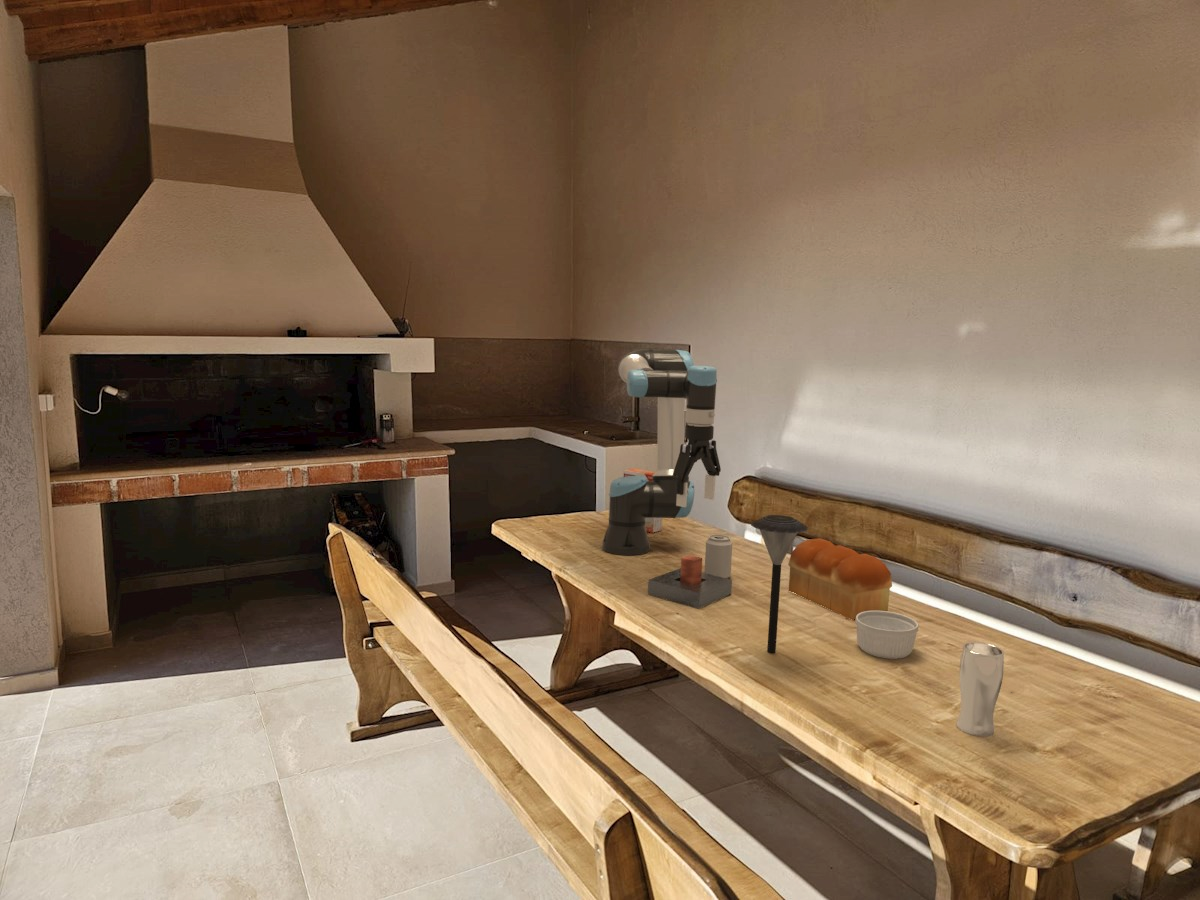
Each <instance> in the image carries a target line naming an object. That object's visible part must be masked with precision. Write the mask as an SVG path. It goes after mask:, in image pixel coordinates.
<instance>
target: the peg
mask: <svg viewBox="0 0 1200 900" xmlns="http://www.w3.org/2000/svg"><path fill="white" fill-rule="evenodd" d="M680 563H681V564H680V568H681V578H680V582H684V583H688V584H692V585H695V584H698V583H700V582H701V576H702V573H703V572H702V571H703V557H700V556H694V555H692V554H689V555H687V556H686V555H685V556H683V557H681V561H680Z"/></svg>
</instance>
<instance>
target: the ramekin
mask: <svg viewBox="0 0 1200 900" xmlns="http://www.w3.org/2000/svg"><path fill="white" fill-rule="evenodd" d="M854 621H855V626H856V641H857V645H858V646H859V648H860V649H861V651H863V652H865V653H866V654H868V655H871V656H872V657H873V656H874V657H878V658H883V659H889V660H890V659H891V660H892V659H893V660H895V659H897V660H898V658H899V659H903V658H907V657H908V656H909V655H911V653H912V651H913V650H914V647H915V642H916V636H917V633H918V632H919V624H918V621H916V620H915V619H913V618H912V617H909V616H907V615H904V614H901V613H898V612H893V611H889V610H888V611H865V612H861V613H859V614H857V616H856V619H855V620H854Z"/></svg>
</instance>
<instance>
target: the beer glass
mask: <svg viewBox="0 0 1200 900" xmlns="http://www.w3.org/2000/svg"><path fill="white" fill-rule="evenodd" d="M1004 654H1005V651H1004V650H1003V649H1001V647H998V646H997V645H994V644H990V643H986V642H979V641H970V642H969V641H968V642H965V643H963V645H962V651H961V656H960V662H959V670H958V671H959V674H958V675H959V677H958V678H959V679H958V680H959V689H960V690H959V691H960V704H961V705H960V711H959V715H958V717H957V722H956V726H957V728H958V730H960V731H962V732H964V733H966V734H968V735H971V736H975V737H981V738H982V737H983V738H987V737H991V736H993V735H994V734H995V723H994V711H995V707H996V706H997V701H998V697H999V695H1000V691H1001V689H1002V684H1003V677H1004V660H1005V659H1004V658H1005V657H1004V656H1005V655H1004Z"/></svg>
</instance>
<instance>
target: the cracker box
mask: <svg viewBox="0 0 1200 900" xmlns="http://www.w3.org/2000/svg"><path fill="white" fill-rule="evenodd" d="M656 472H657V471H650V470H645V469H640V468H634V467H633V468H627V469H624V470H623V477H626V476H644V477H646V478H647V481H653V475H654V474H655V473H656ZM645 529H646V532H647V533H649V532H650V533H649V534H655V533H659V532H662V531H663V518H645ZM661 530H662V531H661ZM658 531H659V532H658ZM654 532H655V533H654Z"/></svg>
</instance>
